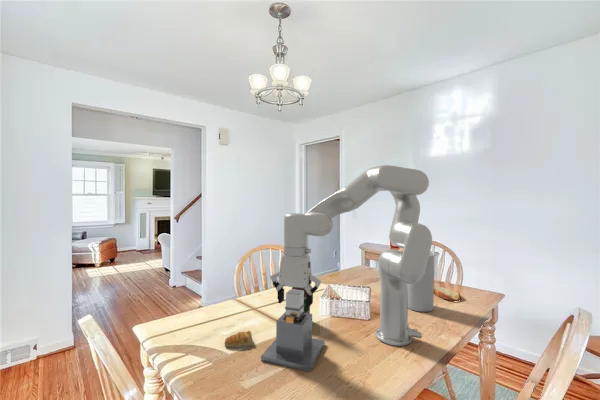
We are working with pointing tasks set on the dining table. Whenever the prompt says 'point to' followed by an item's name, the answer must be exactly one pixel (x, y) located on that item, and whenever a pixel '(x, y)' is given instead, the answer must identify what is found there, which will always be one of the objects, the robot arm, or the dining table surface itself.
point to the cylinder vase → (423, 290)
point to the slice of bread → (447, 293)
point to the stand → (294, 344)
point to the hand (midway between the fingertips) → (294, 303)
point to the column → (295, 304)
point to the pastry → (239, 340)
